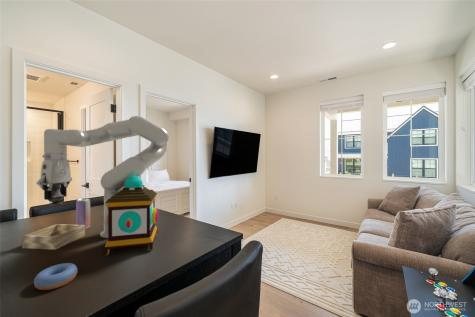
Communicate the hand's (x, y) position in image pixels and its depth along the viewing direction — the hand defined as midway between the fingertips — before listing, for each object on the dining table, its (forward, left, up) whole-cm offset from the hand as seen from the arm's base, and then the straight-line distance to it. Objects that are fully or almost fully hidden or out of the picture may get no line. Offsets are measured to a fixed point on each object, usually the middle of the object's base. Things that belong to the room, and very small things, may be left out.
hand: (55, 197), depth 90 cm
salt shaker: (0, 0, -3) cm, 3 cm away
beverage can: (+2, -17, -20) cm, 26 cm away
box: (0, 0, -20) cm, 20 cm away
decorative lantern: (-36, 0, -20) cm, 41 cm away
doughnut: (-28, +26, -20) cm, 43 cm away
